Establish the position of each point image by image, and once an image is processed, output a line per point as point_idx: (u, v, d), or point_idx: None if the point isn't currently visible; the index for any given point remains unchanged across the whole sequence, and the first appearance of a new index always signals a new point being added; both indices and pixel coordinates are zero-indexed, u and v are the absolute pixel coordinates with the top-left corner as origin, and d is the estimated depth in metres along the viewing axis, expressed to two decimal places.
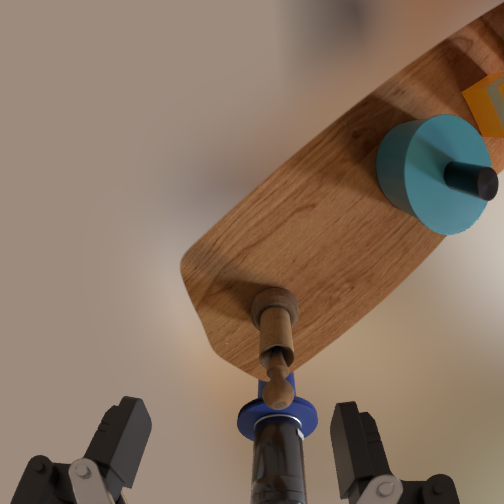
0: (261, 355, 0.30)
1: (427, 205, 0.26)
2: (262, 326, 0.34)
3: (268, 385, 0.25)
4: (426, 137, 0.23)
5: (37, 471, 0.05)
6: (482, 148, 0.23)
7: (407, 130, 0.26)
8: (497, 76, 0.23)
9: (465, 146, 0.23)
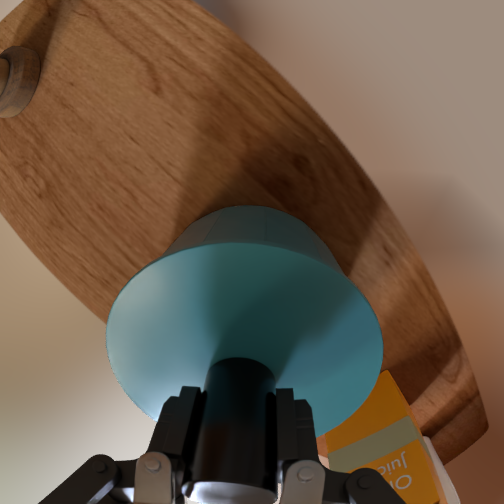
0: None
1: (152, 317, 0.11)
2: None
3: None
4: (327, 308, 0.11)
5: (96, 471, 0.06)
6: None
7: (330, 261, 0.14)
8: (417, 426, 0.21)
9: (312, 402, 0.13)
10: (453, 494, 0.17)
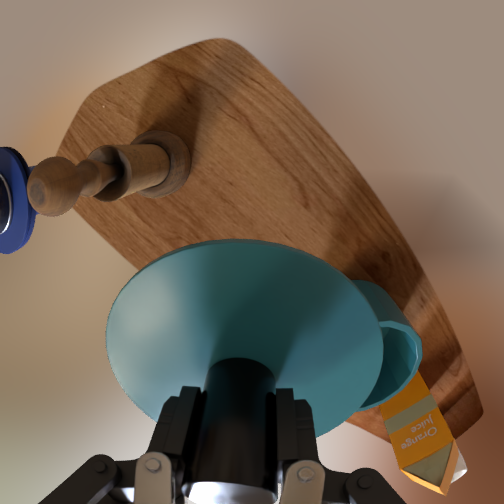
0: (109, 147, 0.16)
1: (152, 317, 0.11)
2: (145, 146, 0.21)
3: (70, 164, 0.11)
4: (327, 308, 0.11)
5: (96, 471, 0.06)
6: None
7: (404, 316, 0.26)
8: None
9: (312, 402, 0.13)
10: (459, 455, 0.29)
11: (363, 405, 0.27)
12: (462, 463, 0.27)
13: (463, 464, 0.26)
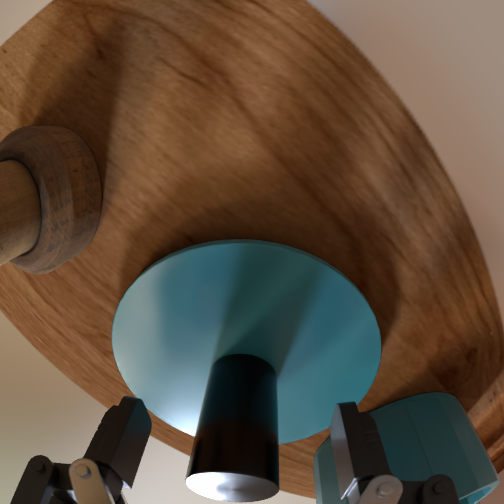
0: None
1: (157, 315, 0.12)
2: None
3: None
4: (326, 306, 0.11)
5: (37, 471, 0.05)
6: (310, 428, 0.14)
7: (485, 451, 0.10)
8: None
9: (312, 398, 0.13)
10: None
11: None
12: None
13: None
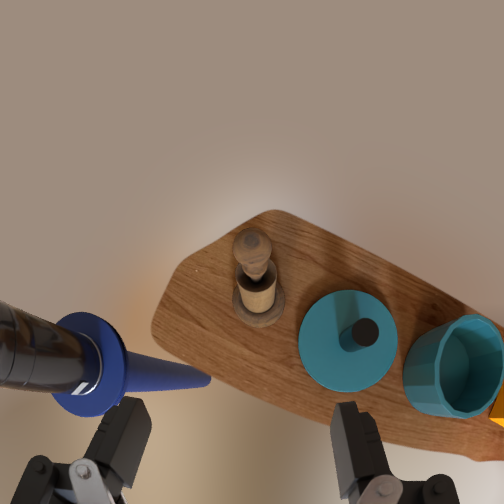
0: None
1: (315, 325, 0.35)
2: None
3: None
4: (362, 301, 0.35)
5: (37, 471, 0.05)
6: (388, 359, 0.32)
7: None
8: None
9: (378, 340, 0.33)
10: None
11: (489, 398, 0.22)
12: None
13: None
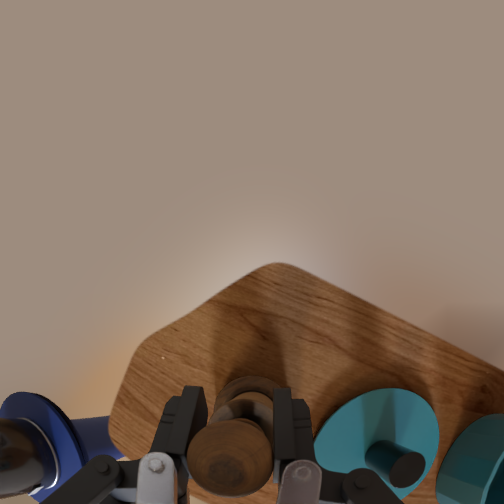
0: (240, 402, 0.14)
1: (334, 442, 0.20)
2: (256, 394, 0.18)
3: (253, 426, 0.09)
4: (400, 403, 0.21)
5: (99, 472, 0.06)
6: (423, 469, 0.17)
7: None
8: None
9: (415, 449, 0.19)
10: None
11: None
12: None
13: None
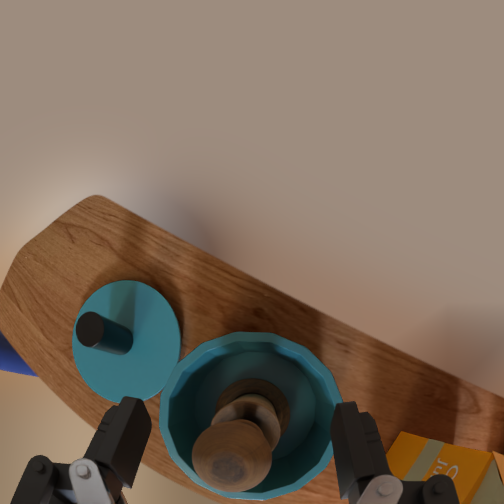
0: (241, 404, 0.15)
1: None
2: (256, 396, 0.19)
3: (252, 427, 0.09)
4: (141, 296, 0.29)
5: (37, 471, 0.05)
6: (162, 374, 0.25)
7: None
8: None
9: (152, 347, 0.26)
10: None
11: (291, 482, 0.15)
12: None
13: None
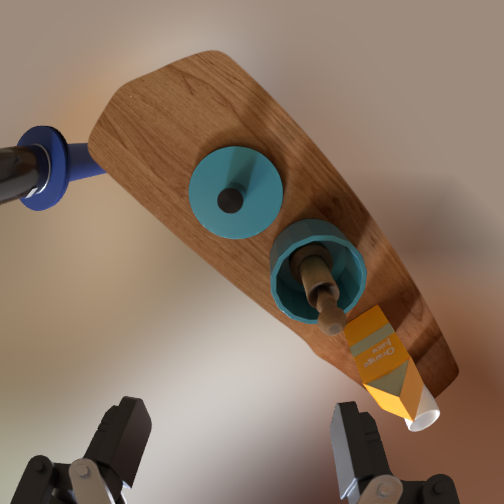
0: (327, 282, 0.33)
1: (209, 170, 0.39)
2: (325, 267, 0.37)
3: (343, 311, 0.28)
4: (259, 164, 0.39)
5: (37, 471, 0.05)
6: (262, 224, 0.41)
7: None
8: None
9: (260, 204, 0.40)
10: (430, 396, 0.40)
11: None
12: (433, 404, 0.38)
13: (434, 405, 0.38)
